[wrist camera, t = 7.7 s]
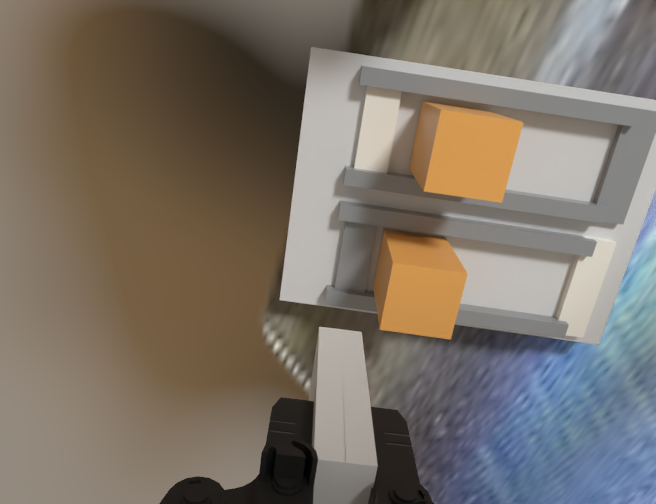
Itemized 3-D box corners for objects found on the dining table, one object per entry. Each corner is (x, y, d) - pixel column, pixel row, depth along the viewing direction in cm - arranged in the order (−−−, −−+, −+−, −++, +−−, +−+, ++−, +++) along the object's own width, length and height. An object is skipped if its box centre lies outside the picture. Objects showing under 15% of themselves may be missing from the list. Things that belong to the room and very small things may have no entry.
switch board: (666, 102, 32) (697, 106, 29) (585, 330, 38) (605, 352, 35) (312, 47, 31) (310, 46, 29) (282, 288, 37) (277, 306, 34)
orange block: (489, 111, 30) (523, 122, 25) (473, 178, 32) (502, 202, 26) (422, 100, 30) (441, 109, 25) (408, 168, 32) (423, 191, 26)
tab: (445, 237, 33) (467, 273, 28) (432, 294, 35) (450, 339, 29) (383, 228, 33) (393, 262, 27) (372, 286, 34) (379, 329, 29)
